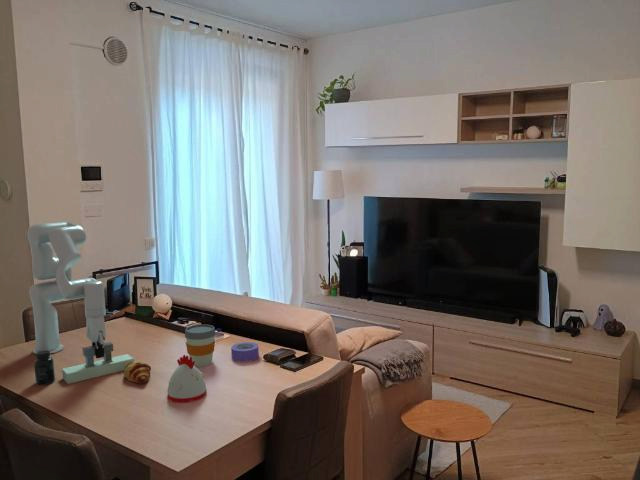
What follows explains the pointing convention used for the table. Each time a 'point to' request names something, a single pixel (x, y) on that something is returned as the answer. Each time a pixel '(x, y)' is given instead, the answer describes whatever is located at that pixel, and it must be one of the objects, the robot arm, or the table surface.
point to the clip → (90, 351)
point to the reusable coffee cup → (200, 344)
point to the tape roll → (245, 351)
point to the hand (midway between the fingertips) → (98, 355)
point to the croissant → (137, 372)
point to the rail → (96, 369)
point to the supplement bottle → (44, 368)
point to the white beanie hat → (186, 382)
